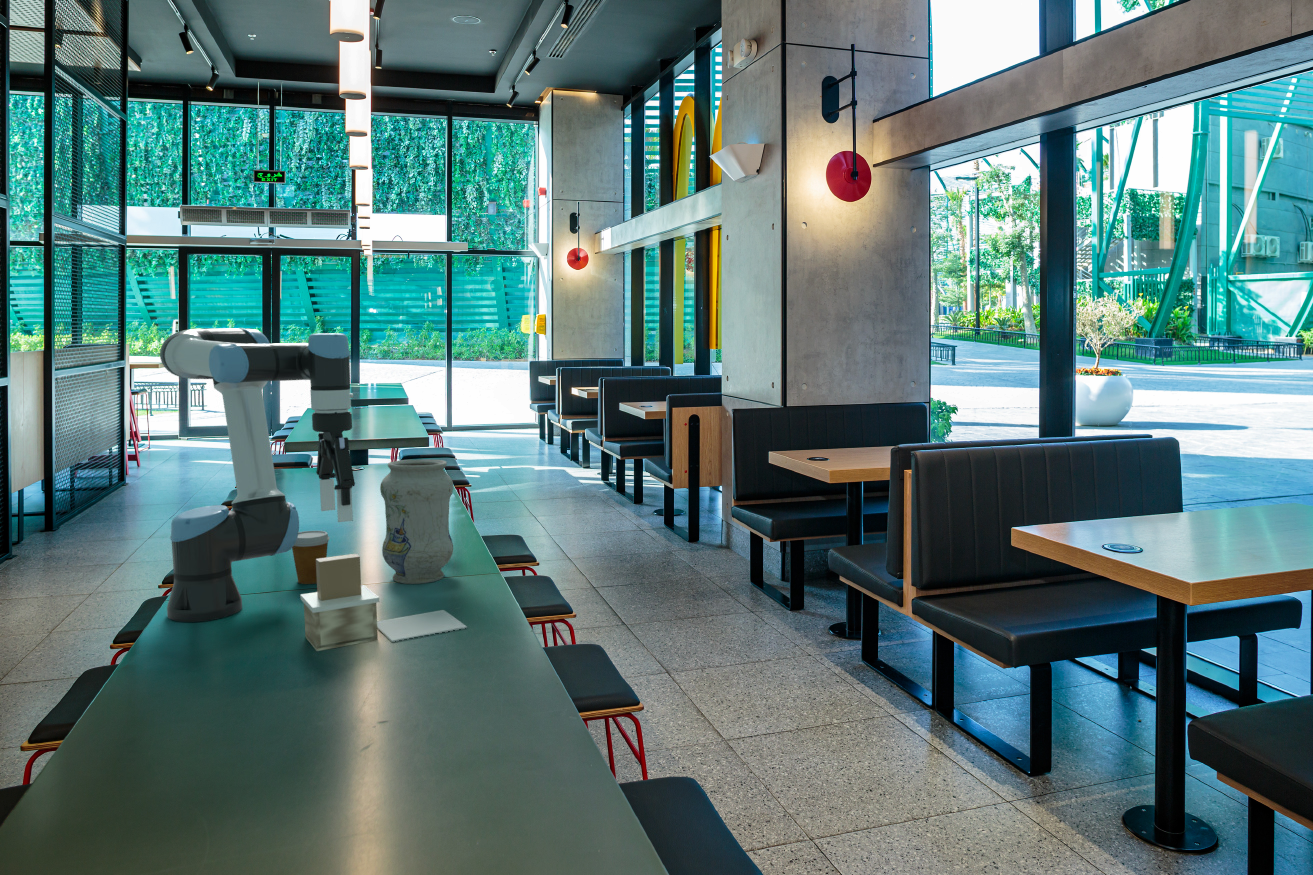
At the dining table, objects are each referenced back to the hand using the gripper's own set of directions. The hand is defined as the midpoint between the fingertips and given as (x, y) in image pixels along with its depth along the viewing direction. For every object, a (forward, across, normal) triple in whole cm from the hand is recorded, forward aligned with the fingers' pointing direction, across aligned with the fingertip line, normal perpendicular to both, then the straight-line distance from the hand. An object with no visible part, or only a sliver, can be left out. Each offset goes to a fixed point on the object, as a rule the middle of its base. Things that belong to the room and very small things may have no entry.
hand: (336, 515), depth 186 cm
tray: (+26, -1, -16) cm, 30 cm away
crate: (+26, 0, 0) cm, 26 cm away
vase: (+26, +37, -29) cm, 54 cm away
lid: (+19, 0, 0) cm, 19 cm away
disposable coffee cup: (+26, +49, -5) cm, 56 cm away
